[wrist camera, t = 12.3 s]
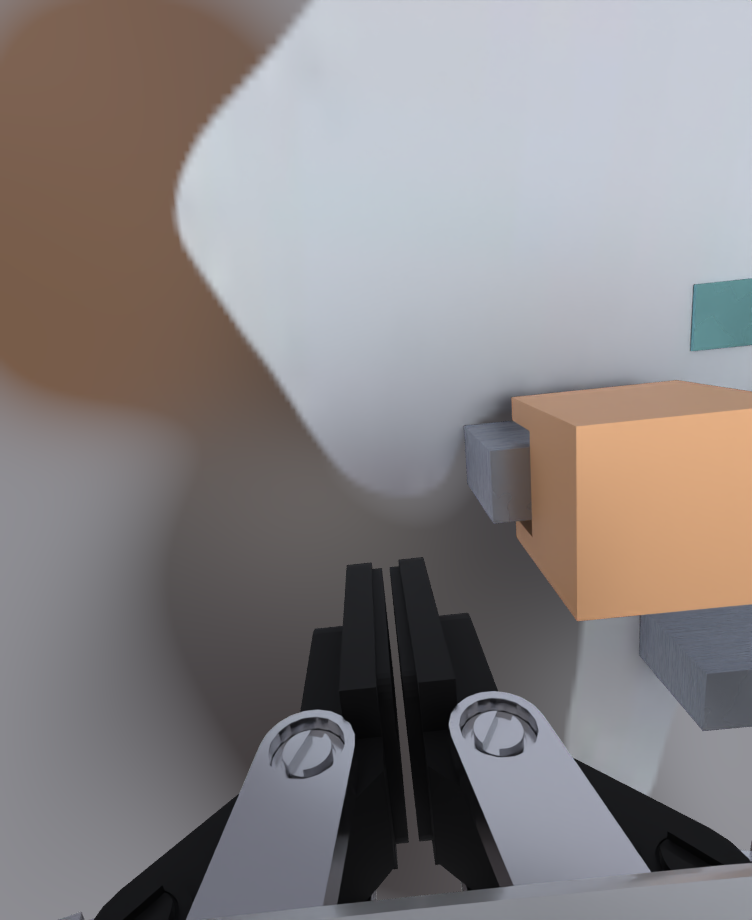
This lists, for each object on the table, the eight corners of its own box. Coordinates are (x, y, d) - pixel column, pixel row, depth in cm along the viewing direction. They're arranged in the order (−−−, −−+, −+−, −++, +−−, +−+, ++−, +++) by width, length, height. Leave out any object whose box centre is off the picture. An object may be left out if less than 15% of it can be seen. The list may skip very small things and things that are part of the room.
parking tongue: (783, 641, 28) (881, 714, 23) (639, 655, 28) (702, 731, 23) (788, 593, 27) (890, 656, 22) (641, 607, 27) (706, 673, 22)
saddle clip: (670, 521, 23) (795, 599, 16) (516, 537, 23) (577, 621, 16) (676, 380, 21) (818, 401, 15) (511, 397, 21) (576, 426, 15)
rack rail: (862, 462, 26) (1077, 519, 18) (468, 502, 26) (511, 575, 18) (889, 264, 23) (1151, 229, 15) (456, 309, 23) (500, 298, 16)
